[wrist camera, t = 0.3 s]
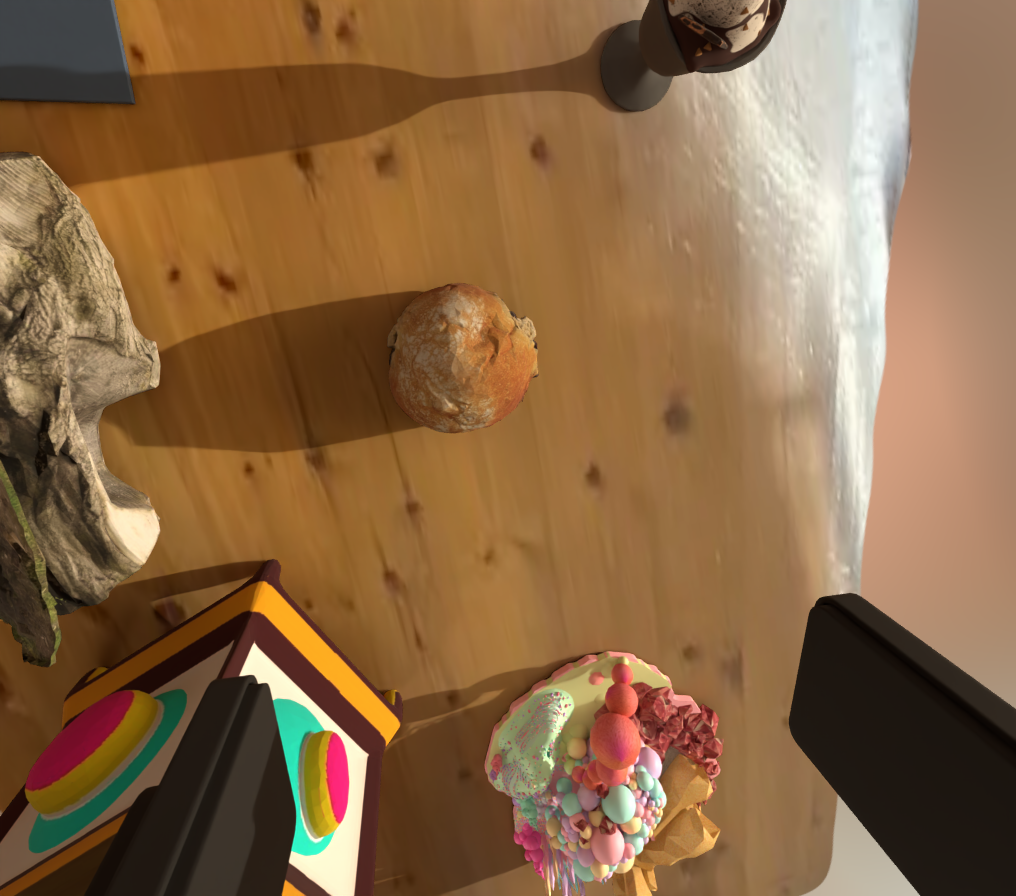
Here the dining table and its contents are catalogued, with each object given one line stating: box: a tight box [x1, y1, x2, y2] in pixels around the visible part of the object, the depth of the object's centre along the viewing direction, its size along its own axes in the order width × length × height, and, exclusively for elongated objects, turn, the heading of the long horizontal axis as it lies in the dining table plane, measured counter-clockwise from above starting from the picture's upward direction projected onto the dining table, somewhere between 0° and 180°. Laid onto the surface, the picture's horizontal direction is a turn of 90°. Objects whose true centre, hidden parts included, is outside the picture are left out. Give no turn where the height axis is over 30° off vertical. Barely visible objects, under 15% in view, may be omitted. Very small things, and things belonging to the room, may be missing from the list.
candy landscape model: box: [485, 651, 724, 896], centre depth 48 cm, size 25×24×9 cm
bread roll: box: [387, 283, 539, 433], centre depth 35 cm, size 10×10×8 cm
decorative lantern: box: [0, 559, 403, 896], centre depth 29 cm, size 20×20×30 cm
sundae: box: [601, 0, 787, 111], centre depth 27 cm, size 7×7×15 cm
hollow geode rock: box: [0, 152, 161, 667], centre depth 29 cm, size 28×13×15 cm
